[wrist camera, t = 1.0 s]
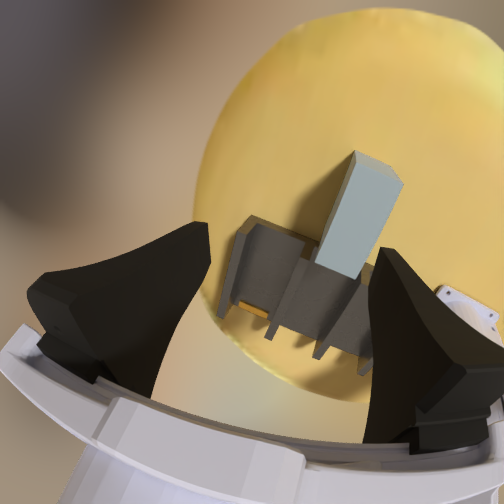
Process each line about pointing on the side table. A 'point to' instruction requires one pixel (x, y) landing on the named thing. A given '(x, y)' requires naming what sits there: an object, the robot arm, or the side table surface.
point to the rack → (298, 290)
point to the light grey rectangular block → (358, 214)
